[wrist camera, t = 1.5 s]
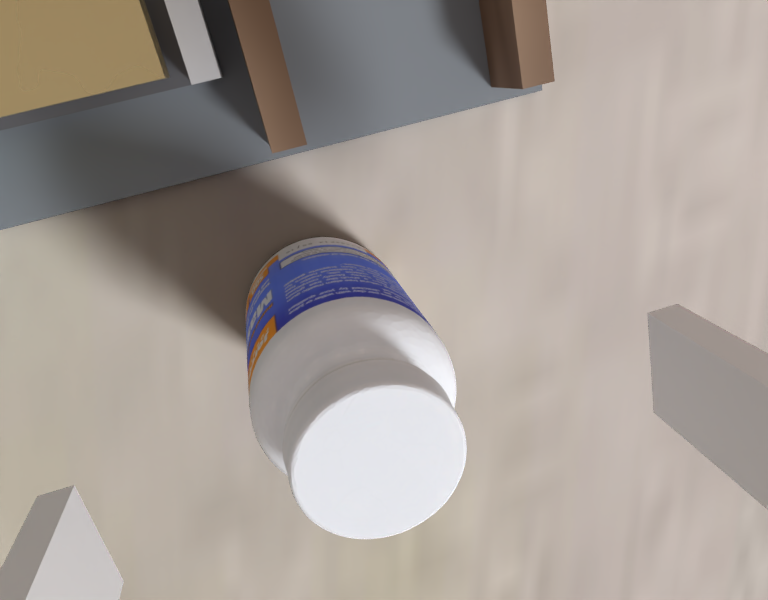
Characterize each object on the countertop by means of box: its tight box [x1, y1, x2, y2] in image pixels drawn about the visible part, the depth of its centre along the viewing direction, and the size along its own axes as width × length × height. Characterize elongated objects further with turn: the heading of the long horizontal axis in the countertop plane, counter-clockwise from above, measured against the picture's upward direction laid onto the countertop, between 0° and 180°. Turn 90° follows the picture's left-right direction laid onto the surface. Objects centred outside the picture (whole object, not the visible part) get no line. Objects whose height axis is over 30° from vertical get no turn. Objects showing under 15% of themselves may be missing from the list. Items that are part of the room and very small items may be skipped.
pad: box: [0, 0, 170, 118], centre depth 15 cm, size 4×3×1 cm
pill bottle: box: [246, 237, 467, 539], centre depth 18 cm, size 5×5×10 cm
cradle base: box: [0, 0, 223, 131], centre depth 17 cm, size 7×4×2 cm, turn 103°
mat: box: [0, 0, 542, 230], centre depth 18 cm, size 26×9×1 cm, turn 103°
